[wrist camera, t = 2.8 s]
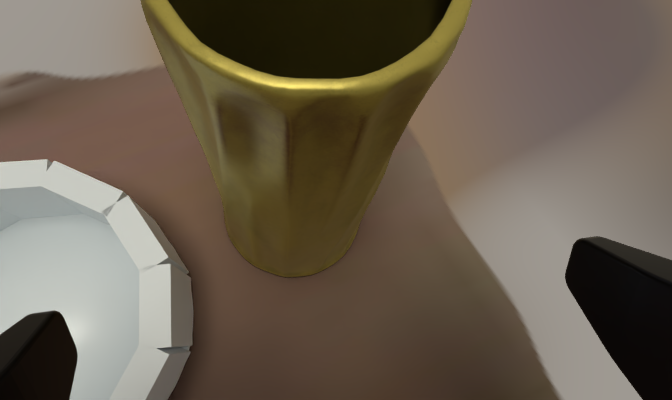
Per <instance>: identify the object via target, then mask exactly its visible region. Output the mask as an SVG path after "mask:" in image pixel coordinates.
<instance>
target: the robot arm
mask: <svg viewBox="0 0 672 400" xmlns="http://www.w3.org/2000/svg"><path fill="white" fill-rule="evenodd" d="M565 279H566V283H567V286H568V288H569V290H570V291H571V293H572V294H573V296H574V298H575V299H576V301H577V303H578V304H579V306H580V308H581V309H582V311H583V313H584V314H585V316H586V317H587V319H588V321H589V322H590V324H591V326H592V327H593V329H594V330H595V332H596V334H597V335H598V337H599V338H600V340H601V342H602V343H603V345H604V347H605V348H606V350H607V351H608V353H609V354H610V356H611V357H612V359H613V360H614V362H615V363H616V364H617V366H618V367H619V369H620V370H621V371H622V373H623V374H624V375H625V377H626V378H627V379H628V381H629V382H630V383H631V385H632V386H633V387H634V389H635V390H636V391H637V393H638V394H639V395H640V397H641V398H642V399H643V400H672V260H669V259H666V258H663V257H660V256H657V255H654V254H651V253H648V252H645V251H642V250H639V249H636V248H633V247H630V246H627V245H624V244H621V243H618V242H615V241H612V240H609V239H606V238H603V237H598V236H596V237H589V238H581V239H579V240H577V241H576V242H575V243H574V245H573V248H572V251H571V255H570V258H569V262H568V266H567V269H566V273H565ZM77 359H78V354H77V348H76V345H75V343H74V340H73V338H72V336H71V333H70V331H69V328H68V326H67V324H66V321H65V319H64V317H63V315H62V314H61V313H60V312H58V311H55V310H53V311H46V312H38V313H32V314H29V315H27V316H25V317H24V318H22V319H21V320H20V321H18V322H17V323H15V324H14V325H13V326H11V327H10V328H9V329H7V330H6V331H4V332H3V333H2V334H0V400H69V399H70V395H71V390H72V385H73V380H74V375H75V371H76V366H77Z"/></svg>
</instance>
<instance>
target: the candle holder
mask: <svg viewBox="0 0 672 400" xmlns="http://www.w3.org/2000/svg"><path fill="white" fill-rule="evenodd" d="M188 273H189V271H188V270H187V268H186V266H185V265H184V263H183V262H182V260H181V259H180V257H179V256H178V254H177V252H176V250H175V248H174V247H173V246H172V244H171V243H170V242H169V241H168V239H167V238H166V236H165V235H164V233H163V232H162V230H161V229H160V227H159V226H158V224H157V223H156V221H155V220H154V219H153V218H152V217H151V216H149V215H148V214H147V213H146V212H145V211H144V210H143V209H142V208H141V207H140V206H139V205H138V204H137V203H136V202H135V201H133V200H132V199H131V198H130V197H129V196H128V195H127V194H125V193H124V192H123V191H121V190H119V189H117V188H115V187H112V186H110V185H108V184H106V183H103V182H101V181H99V180H97V179H94V178H92V177H90V176H88V175H85V174H83V173H81V172H79V171H77V170H74V169H72V168H70V167H68V166H65V165H63V164H61V163H59V162H56V161H54V162H53V163H51V162H50V161H49V160H48V159H46V160H30V161H14V162H0V334H2V333H3V332H4V331H6V330H7V329H9V328H10V327H11V326H13V325H14V324H15V323H17V322H18V321H20V320H21V319H22V318H24V317H25V316H27V315H29V314H32V313H38V312H46V311H53V310H55V311H58V312H60V313H61V314H62V315H63V317H64V319H65V321H66V324H67V326H68V328H69V331H70V333H71V336H72V338H73V340H74V343H75V345H76V348H77V354H78V359H77V366H76V371H75V375H74V380H73V385H72V390H71V395H70V399H69V400H168V398H169V396H170V395H171V393H172V391H173V390H174V388H175V386H176V384H177V382H178V380H179V377H180V375H181V373H182V371H183V368H184V366H185V363H186V361H187V359H188V357H189V355H190V353H191V352H190V351H189V349H190V346H193V341H192V332H193V316H194V309H193V298H192V292H191V277H189V276H188V275H187V274H188Z"/></svg>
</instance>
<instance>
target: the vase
mask: <svg viewBox="0 0 672 400" xmlns="http://www.w3.org/2000/svg"><path fill="white" fill-rule="evenodd" d="M141 4H142V8H143V11H144V14H145V18H146V21H147V23H148V25H149V28H150V30H151V33H152V35H153V37H154V40H155V42H156V45H157V47H158V49H159V52H160V54H161V56H162V59H163V61H164V63H165V66H166V68H167V70H168V73H169V75H170V77H171V79H172V81H173V83H174V85H175V88H176V90H177V92H178V94H179V96H180V99H181V101H182V103H183V105H184V108H185V110H186V113H187V115H188V117H189V120H190V122H191V124H192V127H193V129H194V131H195V134H196V136H197V138H198V140H199V142H200V144H201V146H202V148H203V151H204V153H205V156H206V158H207V161H208V163H209V166H210V169H211V172H212V175H213V177H214V180H215V182H216V184H217V187H218V189H219V192H220V195H221V199H222V204H223V208H224V217H225V224H226V229H227V232H228V236H229V238H230V239H231V241H232V243H233V245H234V246H235V248H236V249H237V250H238V251H239V253H240V254H241V255H242V256H243V257H244V258H245V259H246V260H247V261H248V262H250V263H251V264H252V265H254V266H256V267H257V268H259V269H262V270H264V271H267V272H270V273H273V274H275V275H279V276H282V277H299V276H307V275H312V274H315V273H318V272H320V271H322V270H324V269H326V268H328V267H329V266H331V265H333V264H334V263H336V262H337V261H338V260H339V259H340V258H341V257H343V256H344V255H345V253H346V252H347V250H348V249H349V247H350V246H351V244H352V242H353V240H354V238H355V235H356V233H357V231H358V228H359V224H360V222H361V220H362V218H363V215H364V213H365V211H366V209H367V207H368V205H369V204H370V202H371V200H372V198H373V197H374V195H375V193H376V191H377V188H378V186H379V184H380V182H381V180H382V178H383V176H384V174H385V172H386V169H387V166H388V163H389V160H390V157H391V155H392V152H393V150H394V148H395V146H396V144H397V143H398V141H399V139H400V137H401V135H402V133H403V132H404V130H405V128H406V126H407V124H408V122H409V121H410V119H411V117H412V115H413V114H414V112H415V110H416V109H417V107H418V105H419V104H420V102H421V101H422V99H423V98H424V96H425V94H426V93H427V91H428V90H429V88H430V87H431V85H432V84H433V82H434V81H435V80H436V78H437V77H438V75H439V74H440V72H441V71H442V69H443V68H444V67H445V65H446V64H447V62H448V60H449V58H450V56H451V55H452V53H453V51H454V49H455V47H456V44H457V42H458V39H459V36H460V34H461V33H462V31H463V29H464V26H465V23H466V20H467V17H468V14H469V10H470V7H471V4H472V0H141Z"/></svg>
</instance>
